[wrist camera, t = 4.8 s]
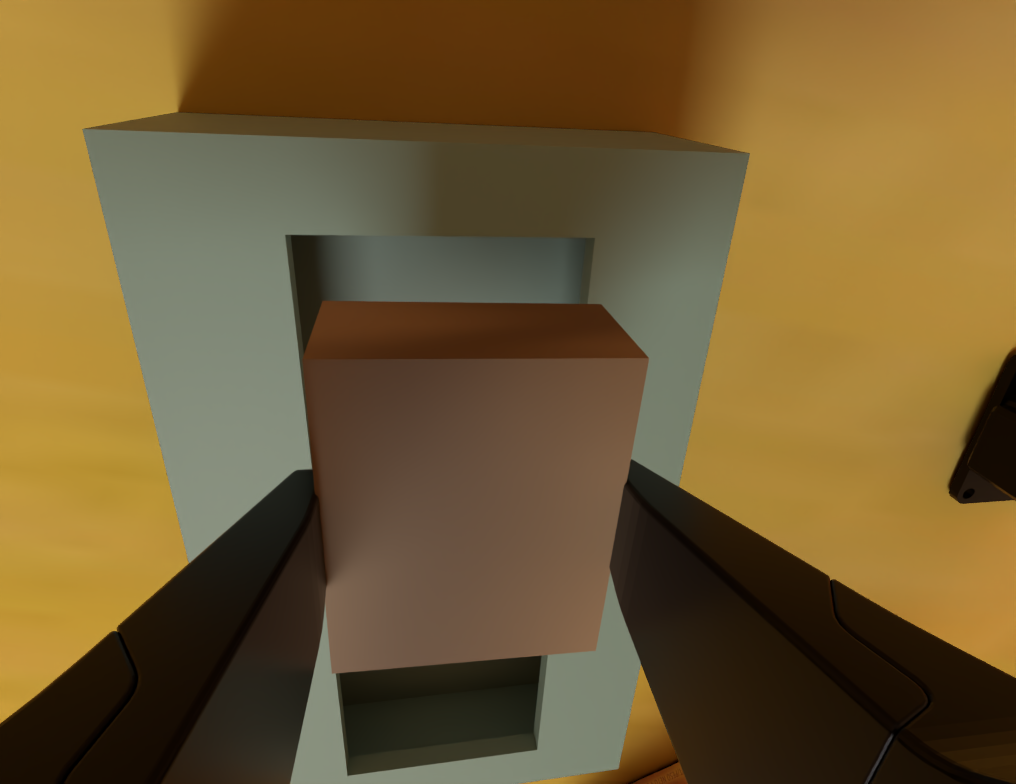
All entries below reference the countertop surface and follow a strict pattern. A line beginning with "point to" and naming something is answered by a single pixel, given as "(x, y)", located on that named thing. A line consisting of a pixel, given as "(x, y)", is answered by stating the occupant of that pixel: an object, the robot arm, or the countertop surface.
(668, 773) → the candy box
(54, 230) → the countertop surface
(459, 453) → the walnut tile
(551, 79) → the countertop surface
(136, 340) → the grey holed block
